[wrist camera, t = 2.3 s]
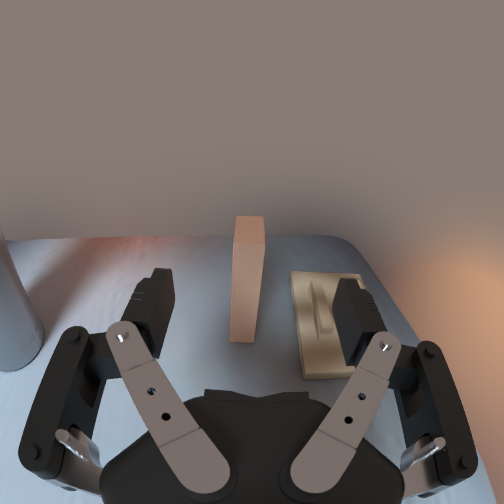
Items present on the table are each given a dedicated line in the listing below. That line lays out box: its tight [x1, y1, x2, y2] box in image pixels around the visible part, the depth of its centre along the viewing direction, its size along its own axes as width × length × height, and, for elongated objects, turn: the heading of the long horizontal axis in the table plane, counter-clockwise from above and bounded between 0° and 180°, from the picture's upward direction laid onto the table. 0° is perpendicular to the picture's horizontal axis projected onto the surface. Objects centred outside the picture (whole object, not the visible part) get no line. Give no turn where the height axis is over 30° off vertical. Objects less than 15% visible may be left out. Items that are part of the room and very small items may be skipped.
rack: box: [289, 271, 366, 380], centre depth 31 cm, size 16×10×3 cm, turn 179°
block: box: [230, 215, 265, 343], centre depth 28 cm, size 5×2×12 cm, turn 179°
